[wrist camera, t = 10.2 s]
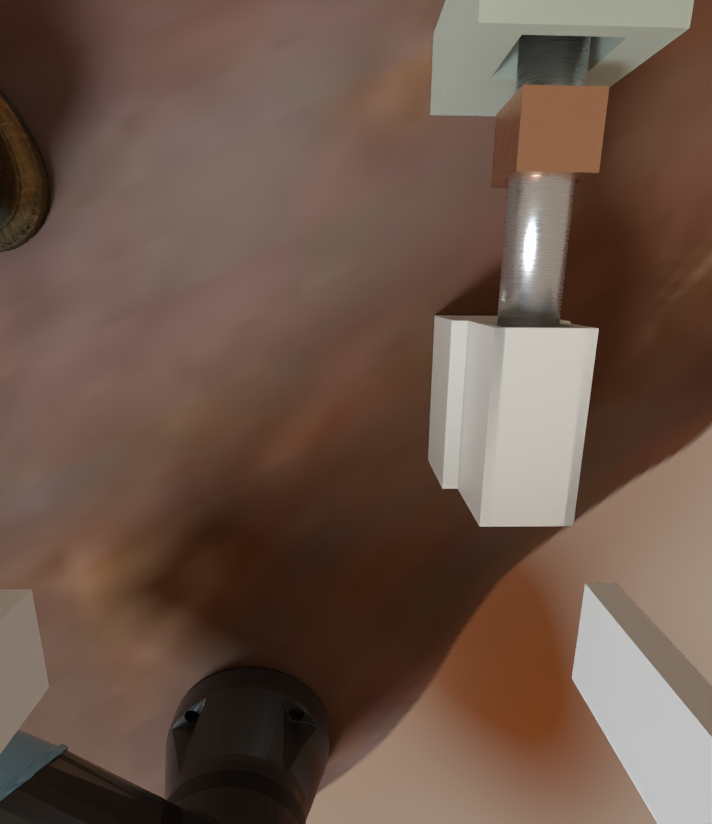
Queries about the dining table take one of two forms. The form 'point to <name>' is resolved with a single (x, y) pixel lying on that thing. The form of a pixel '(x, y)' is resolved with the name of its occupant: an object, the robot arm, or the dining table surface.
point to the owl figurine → (20, 180)
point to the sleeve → (510, 417)
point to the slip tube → (544, 171)
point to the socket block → (540, 15)
